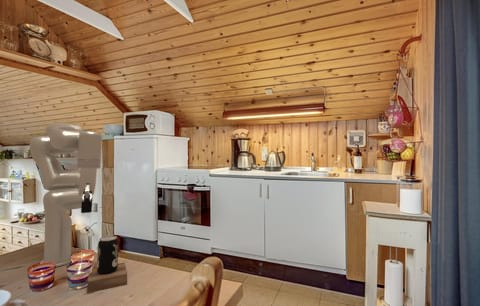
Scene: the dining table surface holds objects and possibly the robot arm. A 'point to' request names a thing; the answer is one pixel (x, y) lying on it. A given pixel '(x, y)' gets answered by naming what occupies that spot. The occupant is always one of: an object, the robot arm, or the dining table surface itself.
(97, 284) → the walnut base block
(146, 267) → the dining table surface
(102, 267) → the beverage can
